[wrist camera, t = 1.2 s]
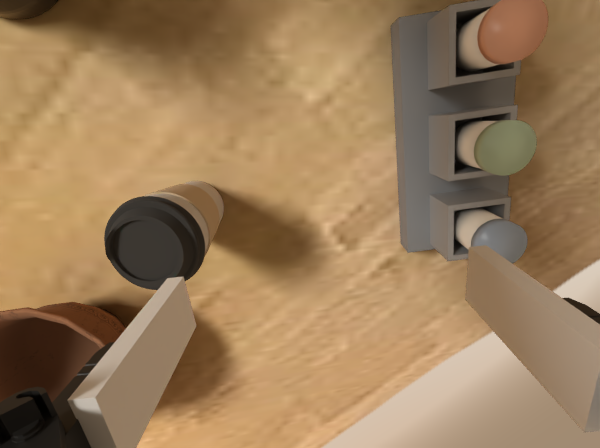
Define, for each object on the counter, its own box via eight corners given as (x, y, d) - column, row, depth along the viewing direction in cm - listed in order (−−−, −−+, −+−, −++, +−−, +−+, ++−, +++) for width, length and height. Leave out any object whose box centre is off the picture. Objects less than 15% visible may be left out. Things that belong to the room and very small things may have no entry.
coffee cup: (239, 183, 40) (204, 219, 26) (225, 246, 43) (188, 310, 29) (168, 164, 39) (92, 191, 25) (159, 229, 42) (87, 287, 28)
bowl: (147, 405, 52) (108, 477, 42) (11, 359, 49) (-66, 423, 39) (190, 303, 46) (158, 357, 35) (38, 242, 43) (-47, 282, 32)
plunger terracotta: (449, 21, 29) (487, -3, 23) (500, 13, 29) (551, -14, 23) (449, 76, 30) (484, 66, 25) (497, 68, 30) (544, 56, 24)
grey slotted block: (390, 25, 34) (416, -1, 27) (502, 6, 34) (561, -25, 26) (400, 243, 43) (422, 270, 35) (490, 231, 42) (532, 256, 34)
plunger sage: (448, 123, 32) (482, 124, 26) (495, 116, 32) (539, 116, 26) (448, 168, 33) (480, 179, 27) (492, 161, 33) (534, 171, 27)
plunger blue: (448, 207, 35) (478, 226, 29) (490, 201, 34) (529, 219, 29) (448, 245, 36) (476, 270, 30) (488, 240, 36) (525, 264, 30)
